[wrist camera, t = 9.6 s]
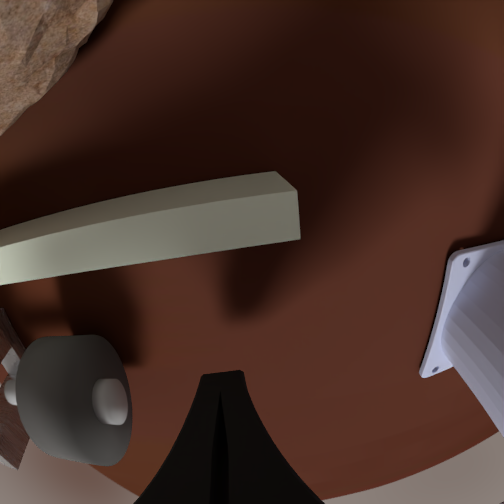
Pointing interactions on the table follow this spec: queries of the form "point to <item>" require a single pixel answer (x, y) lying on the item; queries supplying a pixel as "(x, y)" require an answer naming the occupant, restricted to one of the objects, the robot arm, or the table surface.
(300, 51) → the table surface
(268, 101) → the table surface
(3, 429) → the axle mount
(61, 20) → the stone
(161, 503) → the robot arm
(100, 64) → the table surface
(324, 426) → the table surface
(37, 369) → the wheel
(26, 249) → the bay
